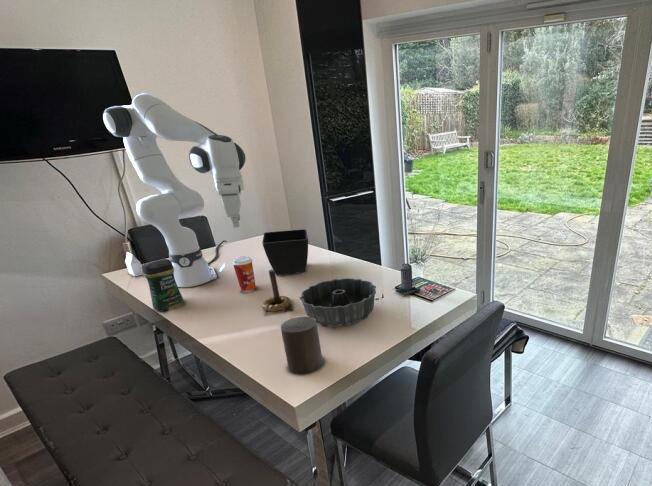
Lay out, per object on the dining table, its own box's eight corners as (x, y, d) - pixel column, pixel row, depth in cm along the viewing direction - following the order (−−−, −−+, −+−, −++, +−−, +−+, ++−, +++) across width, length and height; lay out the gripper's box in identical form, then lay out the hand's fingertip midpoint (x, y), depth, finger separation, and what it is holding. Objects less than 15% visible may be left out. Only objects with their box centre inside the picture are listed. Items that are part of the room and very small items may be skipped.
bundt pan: (318, 300, 161) (314, 277, 157) (384, 300, 160) (382, 277, 156) (292, 334, 137) (287, 307, 133) (370, 334, 136) (367, 307, 132)
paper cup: (251, 294, 167) (243, 262, 161) (234, 293, 168) (226, 261, 162) (262, 287, 174) (256, 256, 168) (246, 285, 175) (239, 255, 169)
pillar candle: (299, 378, 114) (290, 331, 108) (282, 365, 120) (273, 320, 114) (329, 363, 120) (322, 318, 114) (311, 351, 126) (304, 308, 120)
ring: (260, 304, 155) (259, 299, 154) (288, 298, 160) (287, 293, 159) (265, 314, 147) (264, 308, 146) (293, 308, 152) (292, 302, 151)
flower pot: (311, 260, 204) (306, 228, 197) (313, 273, 187) (308, 238, 181) (270, 265, 198) (263, 232, 191) (269, 279, 181) (262, 243, 175)
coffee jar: (161, 313, 152) (146, 266, 144) (150, 308, 156) (135, 263, 148) (187, 303, 159) (174, 259, 152) (177, 299, 163) (163, 255, 156)
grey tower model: (407, 287, 172) (405, 260, 167) (421, 291, 168) (420, 264, 163) (392, 294, 165) (390, 266, 160) (407, 299, 161) (405, 270, 156)
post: (266, 305, 157) (258, 268, 151) (290, 301, 161) (283, 264, 155) (266, 314, 150) (258, 276, 144) (292, 310, 153) (285, 272, 147)
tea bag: (134, 276, 187) (127, 255, 183) (129, 273, 190) (122, 253, 186) (144, 274, 189) (137, 253, 185) (138, 271, 193) (131, 250, 189)
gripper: (221, 180, 150) (229, 217, 156) (216, 190, 133) (225, 231, 138) (240, 179, 152) (247, 215, 158) (238, 189, 135) (246, 230, 141)
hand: (237, 223), depth 148 cm, fingers open, 8 cm apart
